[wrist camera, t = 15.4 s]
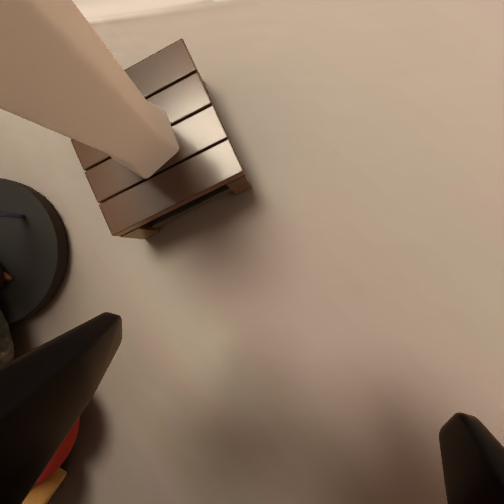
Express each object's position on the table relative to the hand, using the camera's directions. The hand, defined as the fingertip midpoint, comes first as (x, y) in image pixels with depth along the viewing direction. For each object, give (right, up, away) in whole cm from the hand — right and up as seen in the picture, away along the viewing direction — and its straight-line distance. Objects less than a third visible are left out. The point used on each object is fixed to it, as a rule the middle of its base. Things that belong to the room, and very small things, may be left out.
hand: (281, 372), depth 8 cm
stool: (-6, +9, +13) cm, 17 cm away
